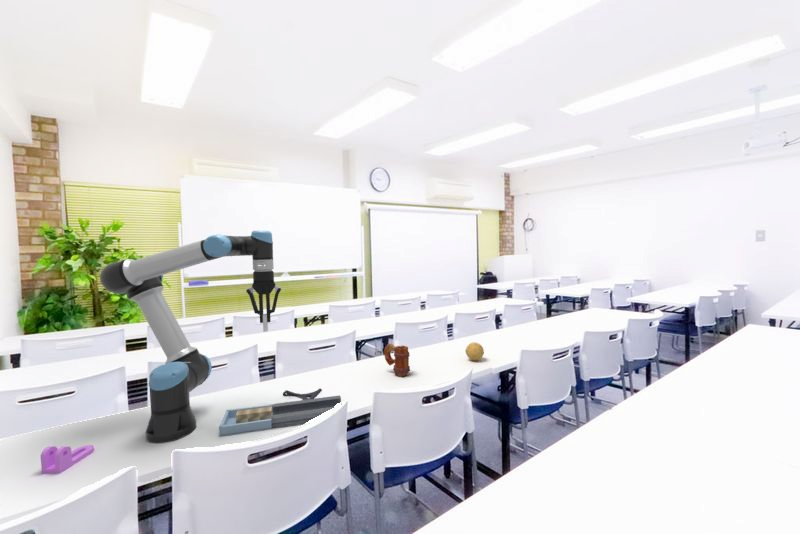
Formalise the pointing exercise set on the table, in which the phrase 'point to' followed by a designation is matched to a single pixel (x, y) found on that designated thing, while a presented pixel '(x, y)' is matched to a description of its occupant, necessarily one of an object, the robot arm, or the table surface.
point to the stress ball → (474, 351)
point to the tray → (230, 426)
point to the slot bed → (301, 411)
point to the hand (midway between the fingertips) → (265, 330)
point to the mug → (398, 359)
